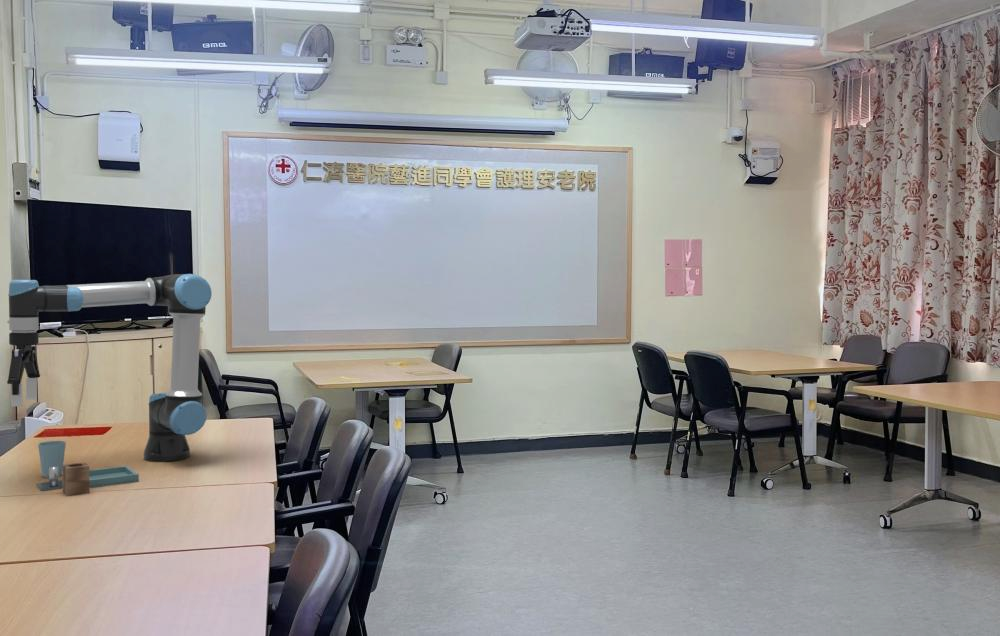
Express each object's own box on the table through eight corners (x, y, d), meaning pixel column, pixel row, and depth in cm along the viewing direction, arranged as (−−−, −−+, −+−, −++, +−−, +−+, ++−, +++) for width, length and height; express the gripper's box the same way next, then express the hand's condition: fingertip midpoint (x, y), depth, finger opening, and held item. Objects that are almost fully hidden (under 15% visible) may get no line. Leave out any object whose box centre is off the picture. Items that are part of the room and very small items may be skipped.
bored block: (85, 488, 240) (85, 462, 239) (89, 492, 235) (89, 465, 235) (62, 491, 236) (62, 464, 236) (66, 496, 231) (66, 468, 231)
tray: (127, 472, 260) (127, 465, 260) (138, 481, 249) (138, 474, 249) (79, 478, 251) (79, 471, 251) (88, 488, 240) (88, 480, 240)
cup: (65, 477, 253) (64, 444, 252) (37, 479, 250) (36, 446, 249) (67, 472, 260) (66, 440, 259) (39, 474, 256) (39, 441, 256)
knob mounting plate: (66, 481, 247) (66, 463, 247) (71, 487, 241) (71, 468, 241) (36, 485, 242) (36, 466, 242) (40, 491, 236) (40, 471, 236)
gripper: (23, 329, 250) (24, 396, 251) (-6, 334, 226) (-5, 409, 226) (50, 329, 252) (50, 396, 252) (24, 334, 227) (24, 408, 228)
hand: (24, 402), depth 239 cm, fingers open, 13 cm apart
